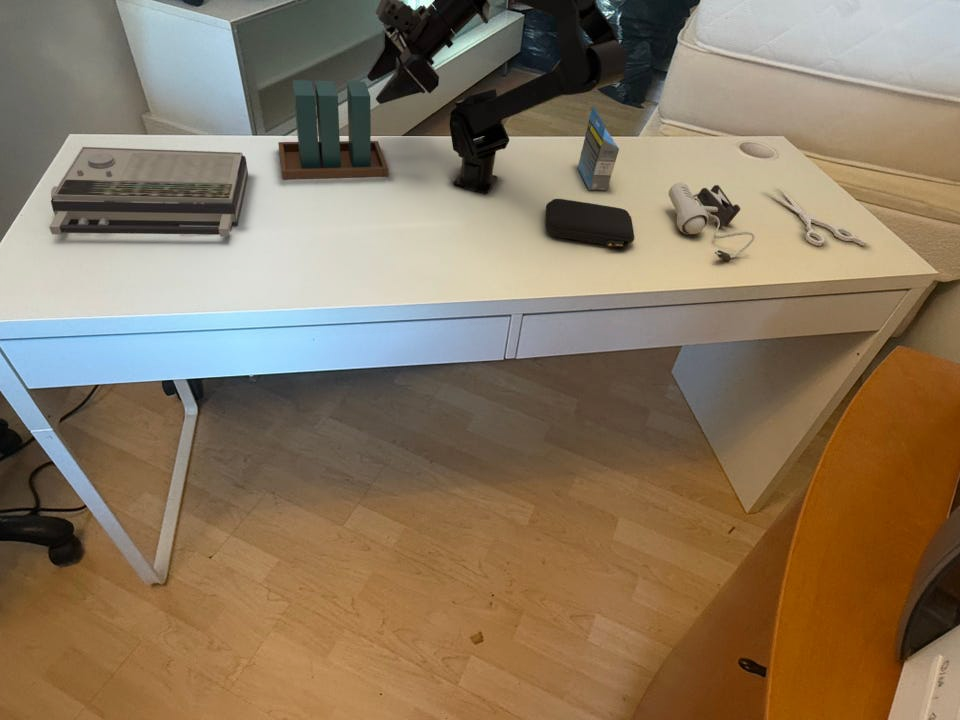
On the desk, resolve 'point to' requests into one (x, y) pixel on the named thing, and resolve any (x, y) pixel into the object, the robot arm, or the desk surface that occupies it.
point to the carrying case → (589, 222)
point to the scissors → (809, 219)
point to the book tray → (294, 170)
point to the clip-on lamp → (704, 212)
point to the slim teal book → (359, 124)
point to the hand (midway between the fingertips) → (373, 90)
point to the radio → (150, 192)
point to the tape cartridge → (597, 154)
